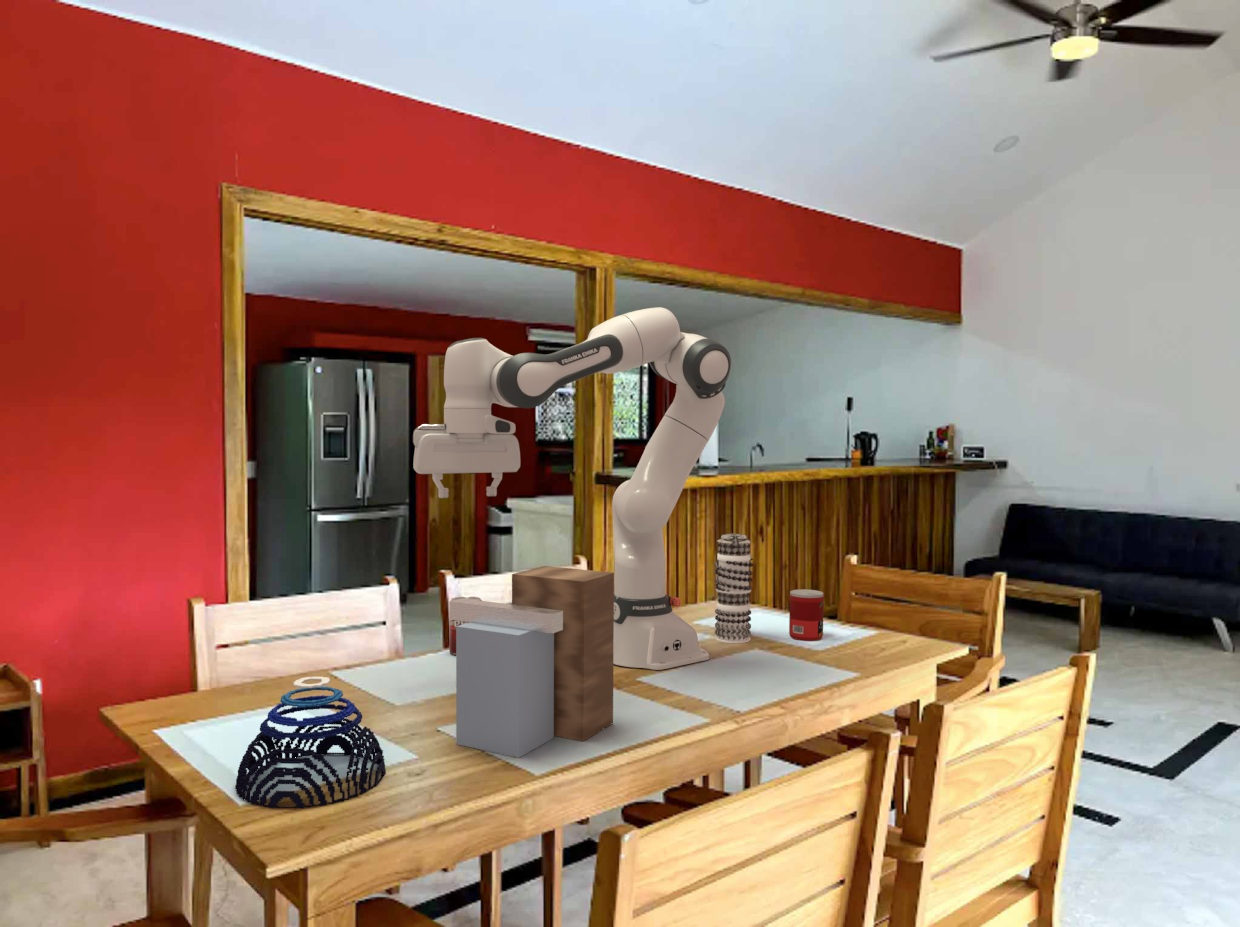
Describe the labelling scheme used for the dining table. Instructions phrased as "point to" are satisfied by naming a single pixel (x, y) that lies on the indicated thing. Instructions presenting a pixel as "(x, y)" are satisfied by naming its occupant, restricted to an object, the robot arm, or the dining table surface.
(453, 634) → the soda can
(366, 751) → the navy layered dome
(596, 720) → the walnut post
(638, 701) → the dining table surface
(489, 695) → the slate-blue post
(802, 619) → the canned food
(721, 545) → the decorative candle
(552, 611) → the pale speckled beam
